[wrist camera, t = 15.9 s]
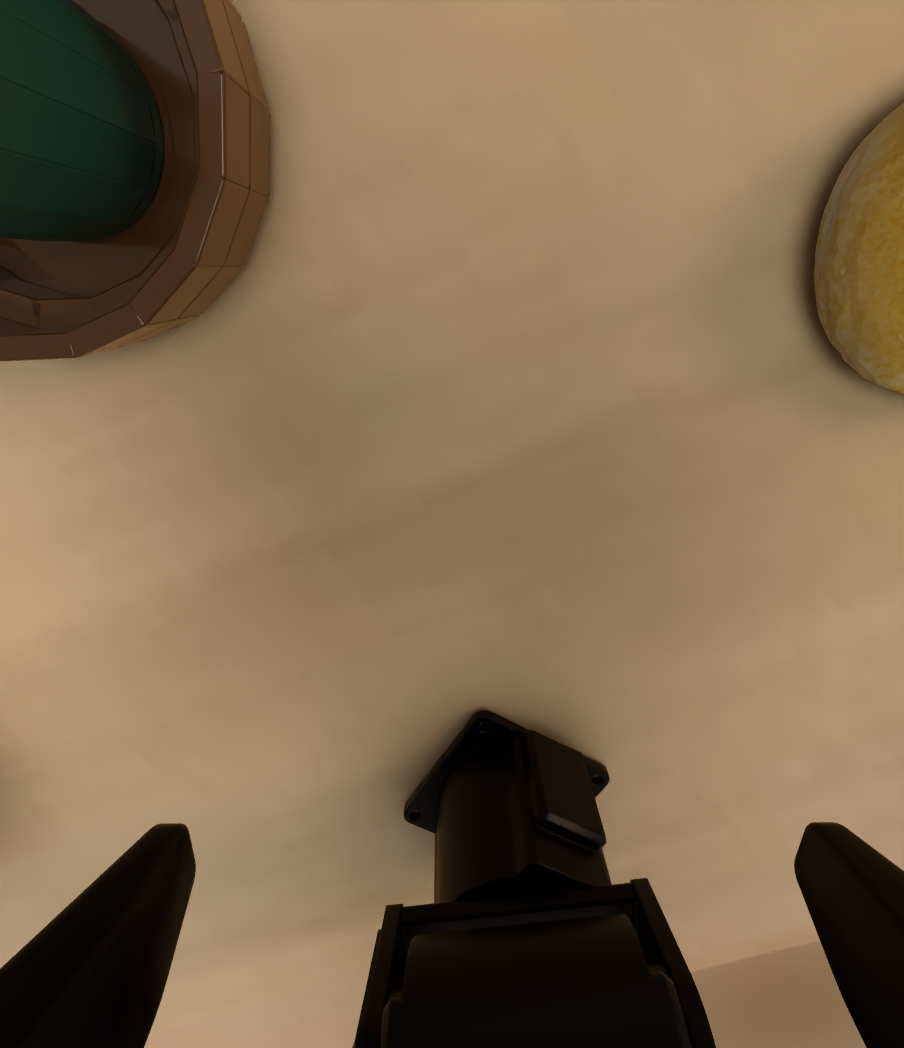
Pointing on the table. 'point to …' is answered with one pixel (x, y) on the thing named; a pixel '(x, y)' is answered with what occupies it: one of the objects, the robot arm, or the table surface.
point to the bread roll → (866, 257)
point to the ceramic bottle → (72, 126)
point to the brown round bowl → (156, 195)
